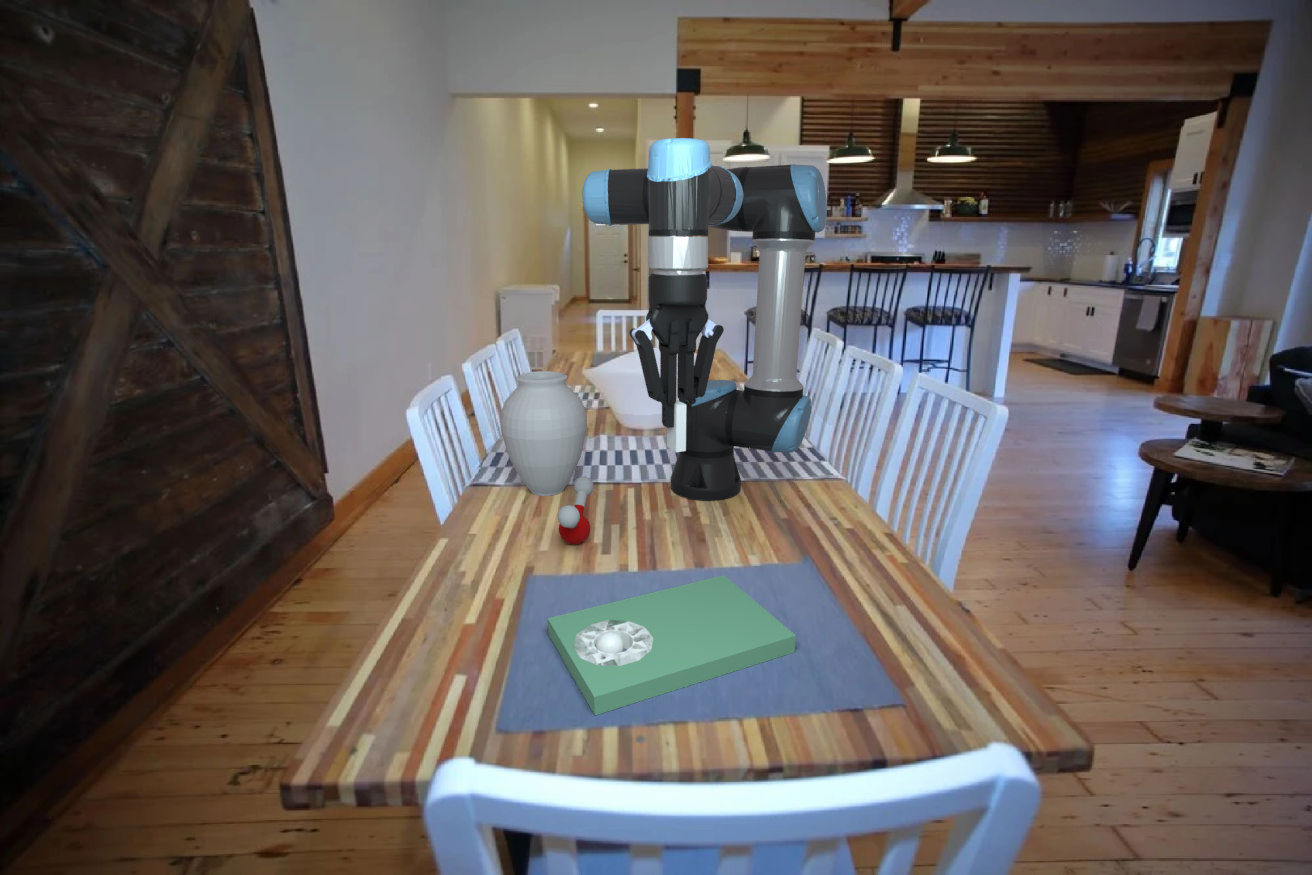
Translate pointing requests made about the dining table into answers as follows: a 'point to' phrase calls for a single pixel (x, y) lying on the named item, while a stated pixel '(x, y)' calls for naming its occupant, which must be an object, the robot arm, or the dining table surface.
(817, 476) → the dining table surface
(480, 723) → the dining table surface
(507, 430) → the vase
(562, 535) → the molecular model
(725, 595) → the putting mat
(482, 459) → the dining table surface
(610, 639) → the ball
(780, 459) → the dining table surface
